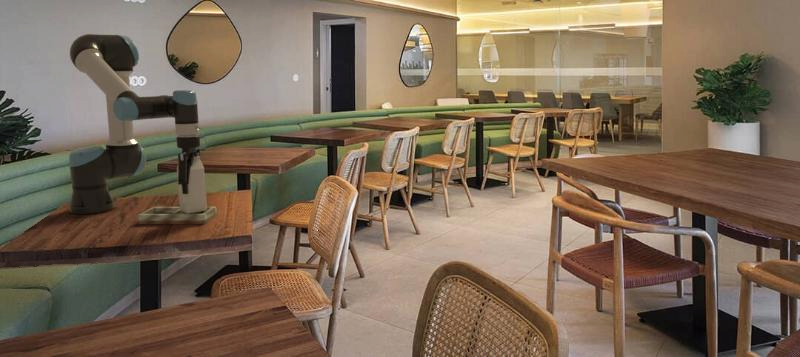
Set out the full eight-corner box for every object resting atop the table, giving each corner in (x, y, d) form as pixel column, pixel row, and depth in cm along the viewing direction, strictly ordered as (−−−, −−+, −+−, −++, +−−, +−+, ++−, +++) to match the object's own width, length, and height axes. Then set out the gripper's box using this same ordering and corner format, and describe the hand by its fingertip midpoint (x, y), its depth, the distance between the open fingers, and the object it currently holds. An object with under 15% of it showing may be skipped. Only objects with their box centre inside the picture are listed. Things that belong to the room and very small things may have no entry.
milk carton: (207, 210, 208) (203, 156, 204) (186, 214, 203) (182, 158, 200) (199, 207, 213) (196, 154, 210) (179, 210, 209) (175, 156, 205)
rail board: (138, 224, 203) (137, 214, 203) (153, 215, 215) (152, 206, 214) (205, 223, 203) (204, 214, 202) (216, 215, 214) (216, 206, 214)
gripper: (186, 139, 192) (191, 206, 196) (210, 132, 214) (214, 192, 218) (163, 139, 192) (169, 207, 196) (189, 132, 215) (194, 193, 219)
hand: (192, 199), depth 207 cm, fingers closed on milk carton, 10 cm apart
